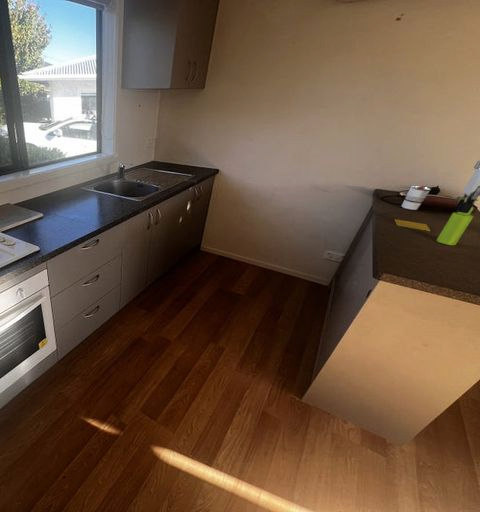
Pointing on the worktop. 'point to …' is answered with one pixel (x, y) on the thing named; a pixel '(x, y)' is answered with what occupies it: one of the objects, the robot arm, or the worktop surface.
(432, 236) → the worktop surface
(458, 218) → the soap dispenser
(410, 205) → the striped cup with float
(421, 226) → the cloth
